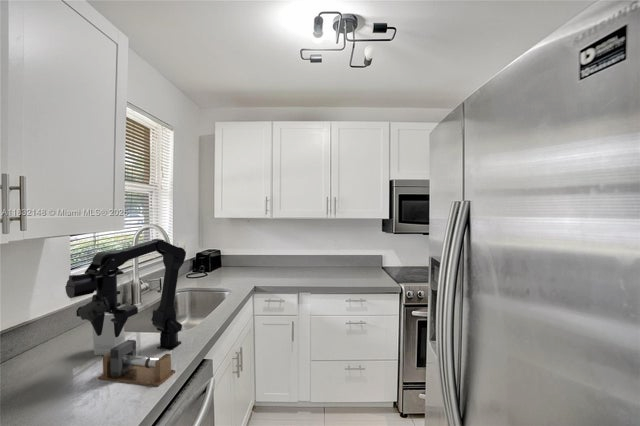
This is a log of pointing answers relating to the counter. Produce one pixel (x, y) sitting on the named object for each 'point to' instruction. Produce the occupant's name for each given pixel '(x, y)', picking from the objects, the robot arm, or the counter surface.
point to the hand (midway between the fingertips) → (108, 336)
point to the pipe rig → (140, 370)
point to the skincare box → (107, 337)
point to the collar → (118, 353)
